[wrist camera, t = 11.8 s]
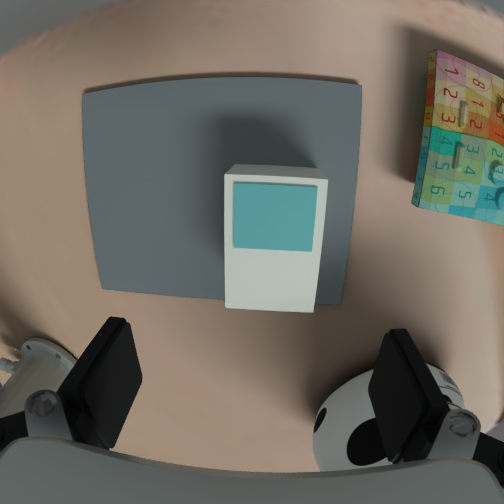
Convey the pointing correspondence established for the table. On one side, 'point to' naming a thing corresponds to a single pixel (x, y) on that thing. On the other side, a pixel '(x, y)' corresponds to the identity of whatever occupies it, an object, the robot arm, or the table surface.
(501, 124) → the puzzle game
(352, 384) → the milk container
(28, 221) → the table surface
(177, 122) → the mat
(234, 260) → the card box
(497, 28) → the table surface
